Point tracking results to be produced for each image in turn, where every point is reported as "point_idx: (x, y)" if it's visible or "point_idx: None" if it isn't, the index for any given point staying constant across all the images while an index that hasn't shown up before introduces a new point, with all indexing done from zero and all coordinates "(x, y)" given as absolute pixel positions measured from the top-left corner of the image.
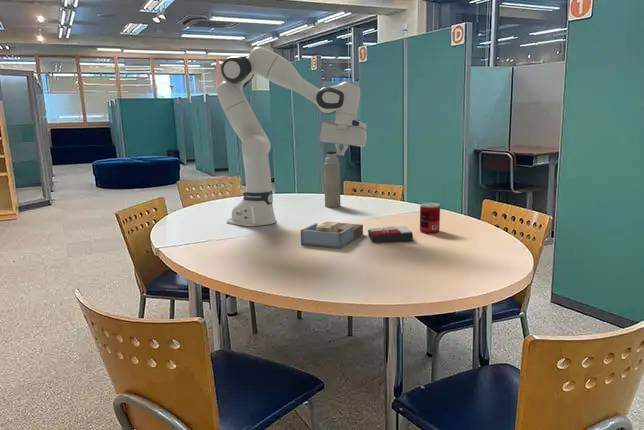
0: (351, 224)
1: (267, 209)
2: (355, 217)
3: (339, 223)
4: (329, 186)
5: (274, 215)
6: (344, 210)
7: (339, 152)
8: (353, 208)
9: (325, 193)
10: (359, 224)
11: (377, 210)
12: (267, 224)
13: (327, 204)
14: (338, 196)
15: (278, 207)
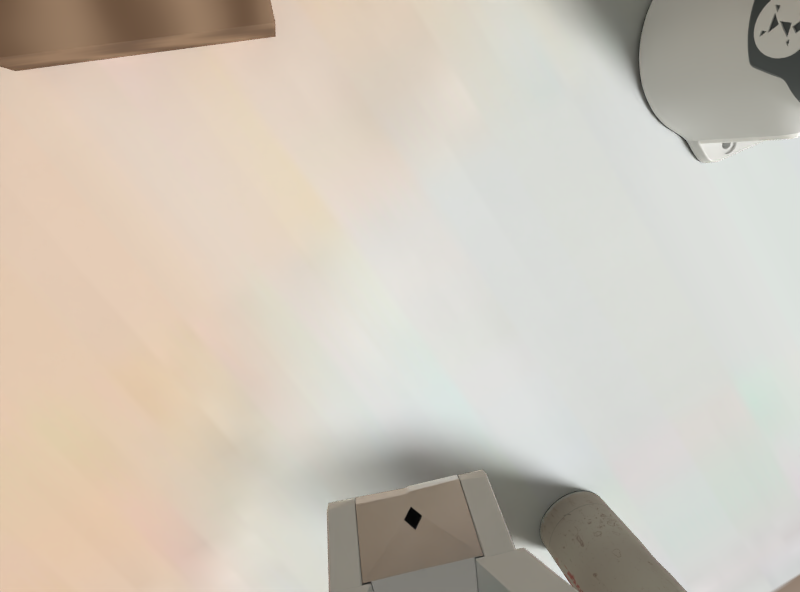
0: (56, 24)
1: (726, 2)
2: (343, 405)
3: (156, 13)
4: (640, 578)
5: (678, 88)
6: None
7: (422, 522)
8: None
9: (637, 542)
10: (5, 53)
11: None
12: (651, 3)
13: (589, 500)
14: (569, 566)
15: (775, 367)
